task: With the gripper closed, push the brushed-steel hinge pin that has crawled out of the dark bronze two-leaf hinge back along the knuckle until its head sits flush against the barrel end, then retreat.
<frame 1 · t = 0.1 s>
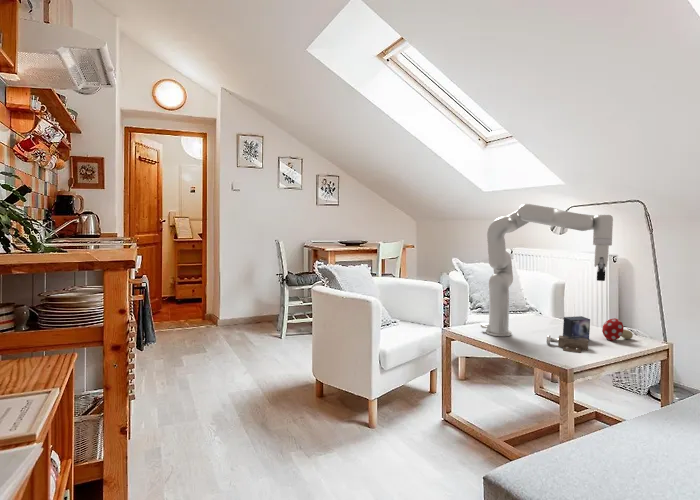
hand: (601, 279, 207), 31 cm above the table, fingers open, 9 cm apart
decorative mushroom: (618, 340, 220), on the table
small box: (575, 339, 222), on the table
hinge pin: (563, 341, 209), point 2 cm above the table, slide at 3.5 cm
hinge: (573, 347, 207), on the table
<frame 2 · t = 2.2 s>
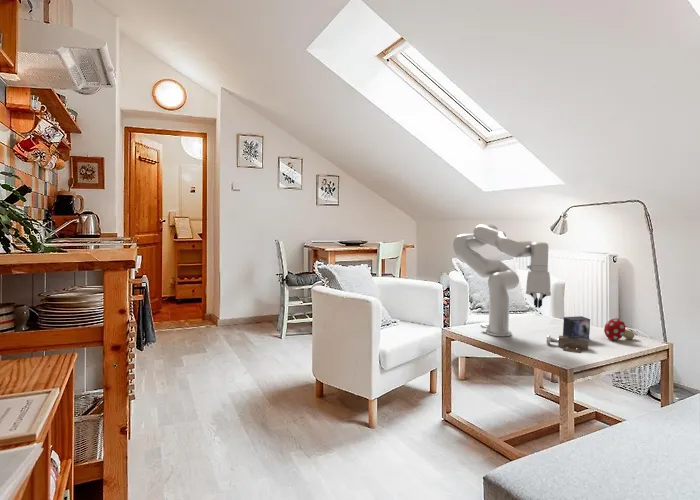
hand: (537, 307, 214), 17 cm above the table, fingers closed
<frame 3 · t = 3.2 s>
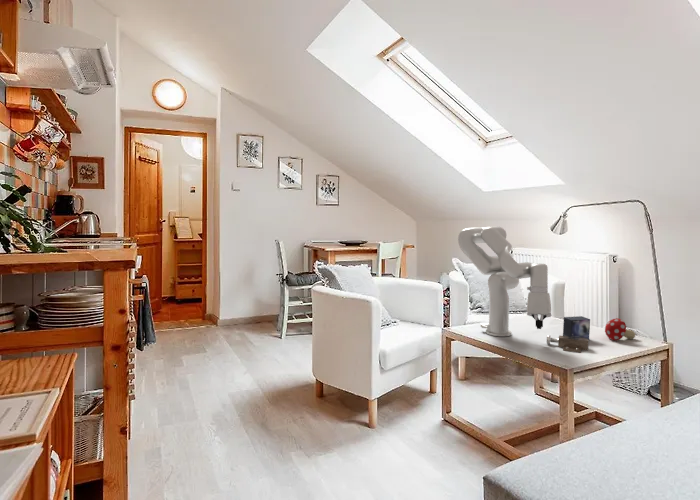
hand: (539, 328, 214), 7 cm above the table, fingers closed
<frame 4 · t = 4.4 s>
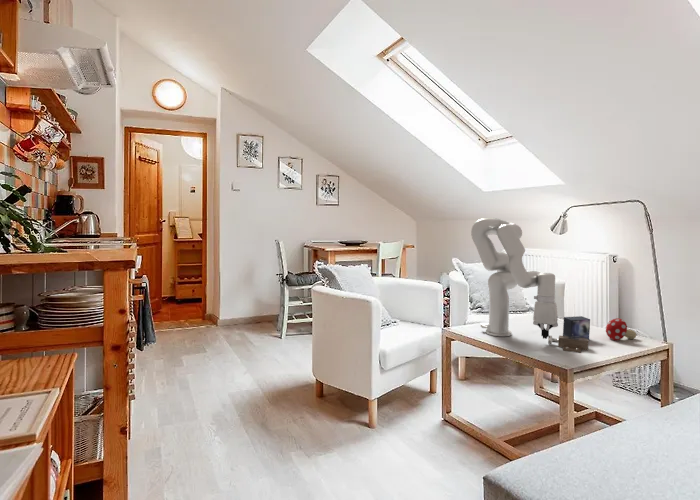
hand: (545, 337, 213), 3 cm above the table, fingers closed
hinge pin: (564, 341, 209), point 2 cm above the table, slide at 2.8 cm, touching gripper
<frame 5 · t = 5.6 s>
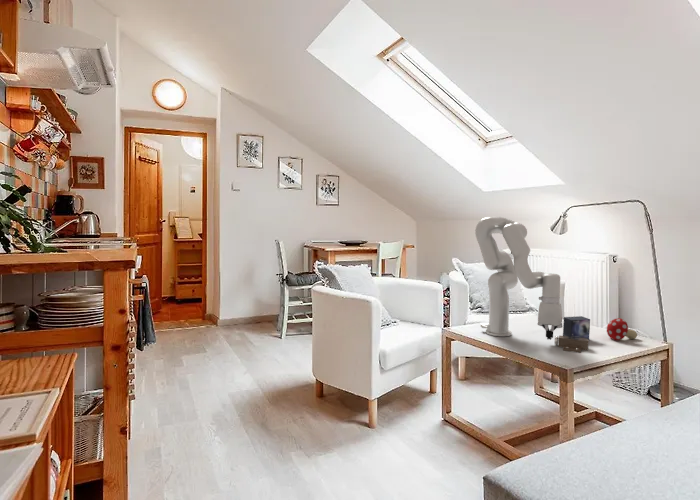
hand: (549, 338, 212), 3 cm above the table, fingers closed
hinge pin: (571, 342, 208), point 2 cm above the table, slide at 0.1 cm
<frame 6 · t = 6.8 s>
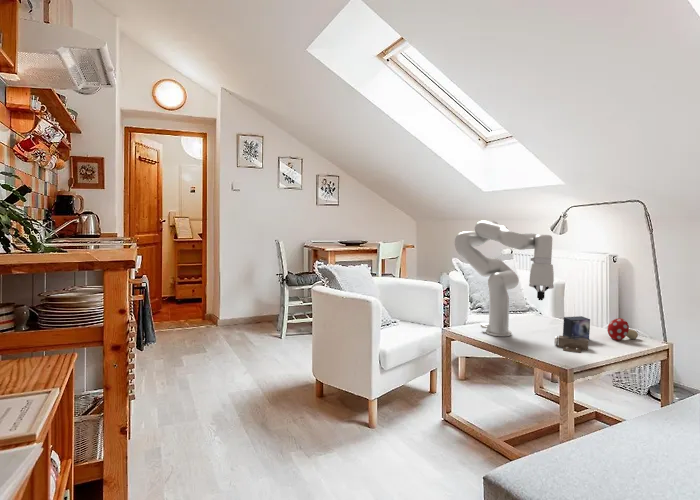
hand: (540, 299, 213), 21 cm above the table, fingers closed
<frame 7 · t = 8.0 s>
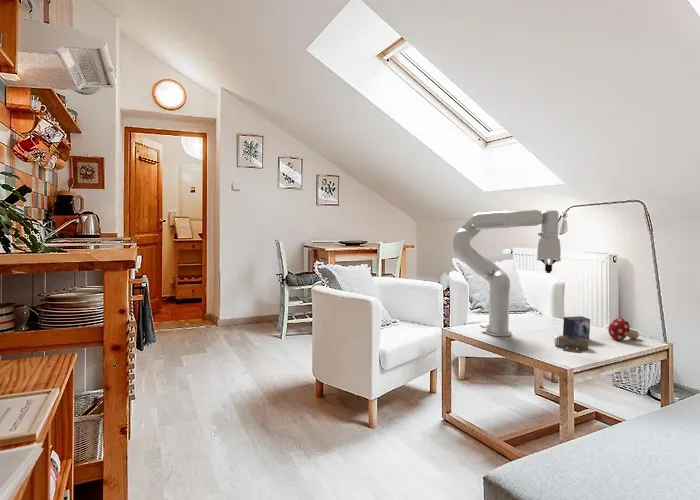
hand: (548, 272, 224), 32 cm above the table, fingers closed
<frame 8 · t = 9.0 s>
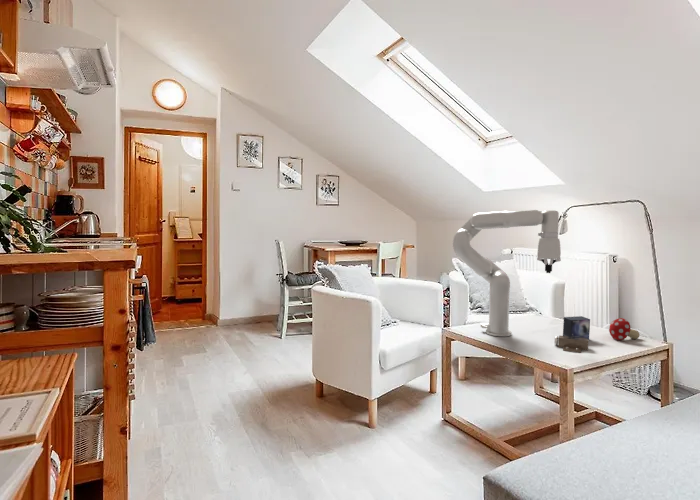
hand: (548, 272, 224), 32 cm above the table, fingers closed
at the end: hinge pin slide at 0.1 cm; hinge pin touching nothing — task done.
